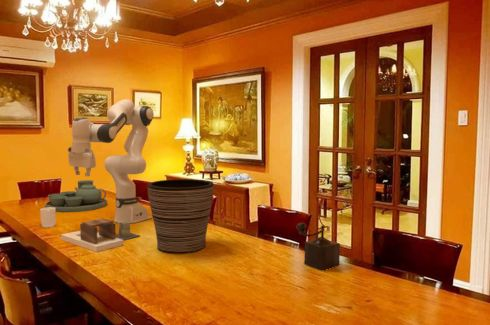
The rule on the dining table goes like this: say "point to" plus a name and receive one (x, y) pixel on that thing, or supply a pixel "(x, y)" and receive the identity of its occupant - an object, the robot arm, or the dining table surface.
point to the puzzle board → (102, 243)
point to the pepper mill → (320, 250)
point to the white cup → (48, 216)
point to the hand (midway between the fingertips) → (82, 175)
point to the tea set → (78, 198)
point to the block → (124, 229)
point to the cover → (90, 230)
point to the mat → (127, 236)
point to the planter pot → (181, 213)
